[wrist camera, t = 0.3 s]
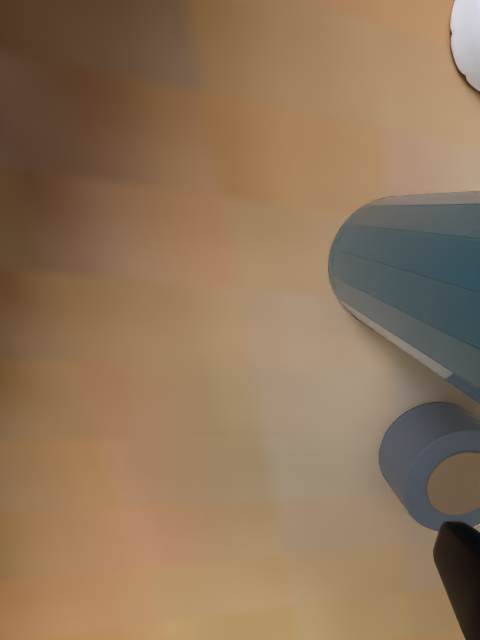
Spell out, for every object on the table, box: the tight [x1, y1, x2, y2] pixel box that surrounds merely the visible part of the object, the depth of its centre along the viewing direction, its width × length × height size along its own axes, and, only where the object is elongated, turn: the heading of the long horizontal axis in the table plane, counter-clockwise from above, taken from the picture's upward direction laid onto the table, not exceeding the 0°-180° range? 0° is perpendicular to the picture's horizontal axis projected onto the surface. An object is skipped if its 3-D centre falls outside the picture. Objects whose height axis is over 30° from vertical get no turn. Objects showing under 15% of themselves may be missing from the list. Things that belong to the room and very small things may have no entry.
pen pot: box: [328, 191, 480, 403], centre depth 15 cm, size 7×7×13 cm
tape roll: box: [379, 402, 480, 531], centre depth 24 cm, size 7×7×3 cm
